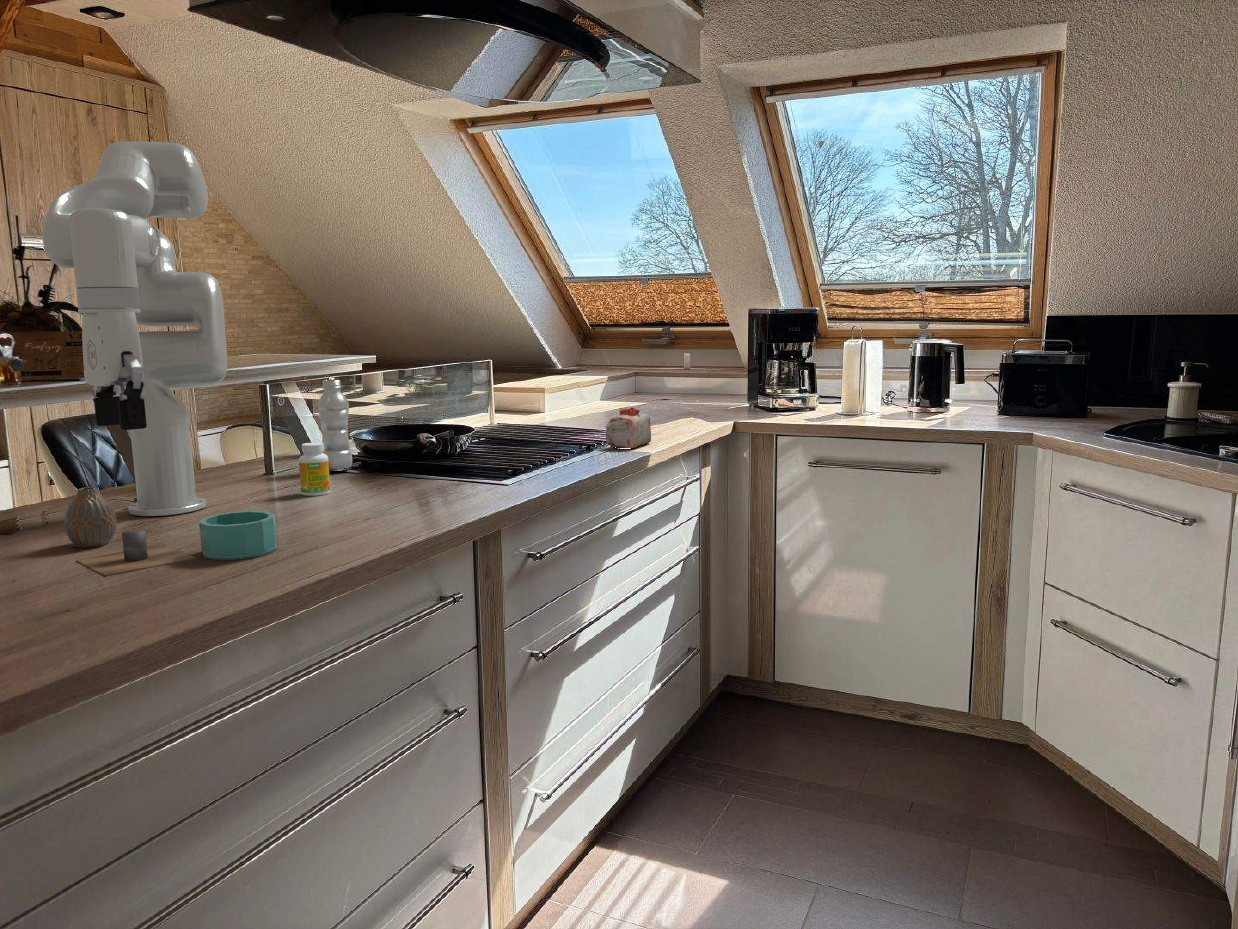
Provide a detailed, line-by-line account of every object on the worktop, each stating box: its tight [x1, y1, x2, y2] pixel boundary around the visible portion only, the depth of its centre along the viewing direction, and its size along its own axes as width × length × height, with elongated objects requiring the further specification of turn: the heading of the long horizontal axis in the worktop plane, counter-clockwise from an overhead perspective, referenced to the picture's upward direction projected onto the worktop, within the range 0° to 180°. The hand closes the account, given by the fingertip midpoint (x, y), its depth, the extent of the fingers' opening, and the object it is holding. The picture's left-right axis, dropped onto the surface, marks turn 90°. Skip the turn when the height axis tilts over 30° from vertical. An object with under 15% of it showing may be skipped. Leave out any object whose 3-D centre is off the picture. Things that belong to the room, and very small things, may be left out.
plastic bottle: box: [317, 379, 353, 470], centre depth 207 cm, size 6×7×20 cm
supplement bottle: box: [298, 442, 331, 497], centre depth 182 cm, size 5×5×10 cm
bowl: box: [198, 510, 277, 561], centre depth 139 cm, size 10×10×5 cm
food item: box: [605, 407, 652, 449], centre depth 238 cm, size 14×8×10 cm, turn 156°
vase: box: [63, 486, 117, 549], centre depth 144 cm, size 7×7×9 cm
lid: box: [75, 528, 197, 578], centre depth 135 cm, size 12×12×5 cm
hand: (121, 427), depth 132 cm, fingers open, 9 cm apart
